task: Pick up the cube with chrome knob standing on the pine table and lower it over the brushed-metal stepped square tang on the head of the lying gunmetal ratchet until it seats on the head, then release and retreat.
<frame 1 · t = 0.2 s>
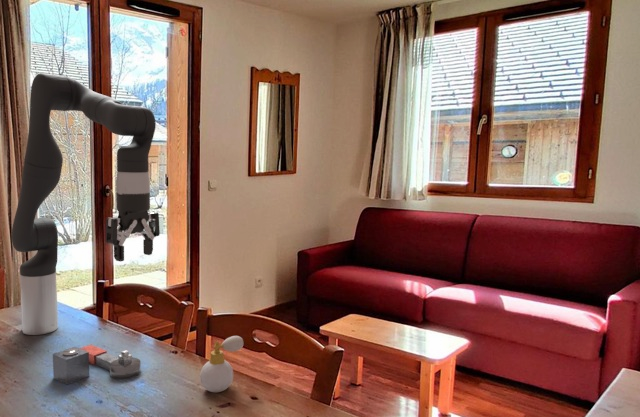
hand: (134, 257, 123), 28 cm above the table, fingers open, 8 cm apart
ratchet: (125, 372, 124), on the table
perfume bottle: (220, 388, 118), on the table
cube with chrome knob: (71, 377, 121), on the table
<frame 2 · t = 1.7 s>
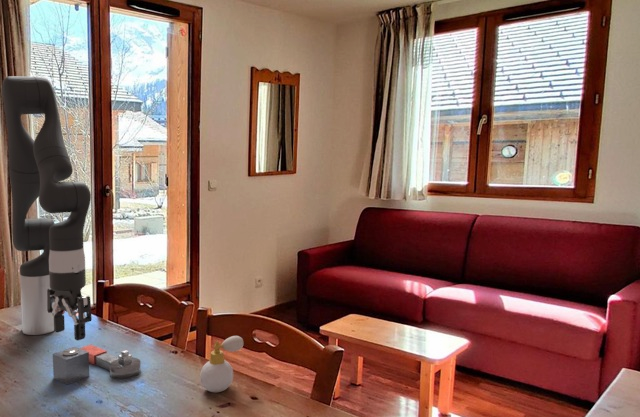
hand: (69, 335, 120), 10 cm above the table, fingers open, 8 cm apart
nothing on the table moved.
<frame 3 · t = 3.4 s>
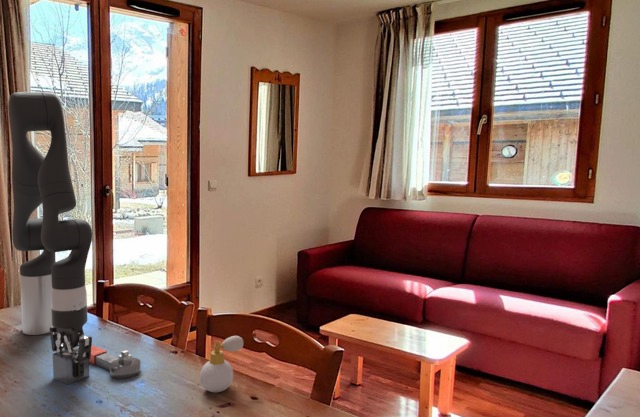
hand: (71, 373, 121), 1 cm above the table, fingers closed on cube with chrome knob, 5 cm apart
cube with chrome knob: (71, 377, 121), on the table, touching gripper
everything else where it was.
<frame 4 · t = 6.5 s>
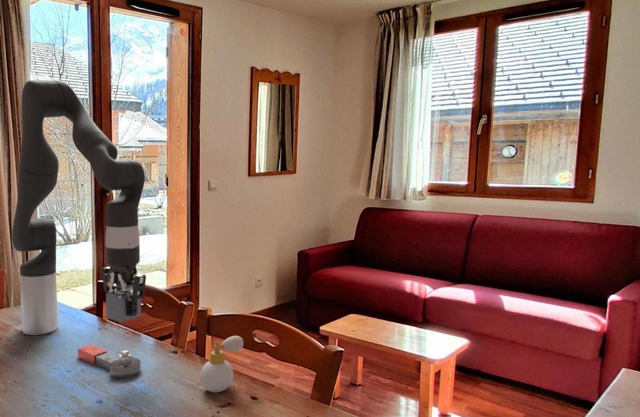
hand: (124, 312, 123), 15 cm above the table, fingers closed on cube with chrome knob, 5 cm apart
cube with chrome knob: (123, 316, 123), point 14 cm above the table, touching gripper
everything else where it was.
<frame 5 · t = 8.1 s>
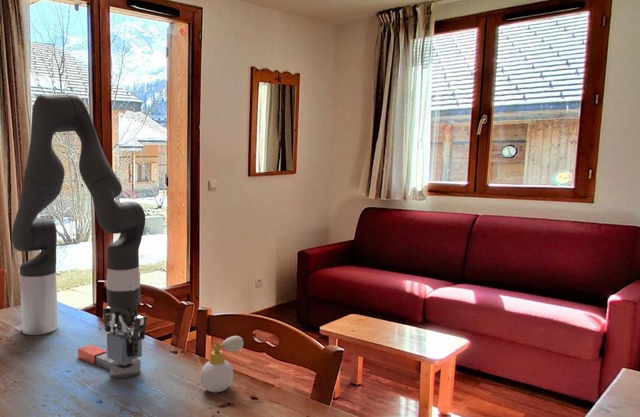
hand: (124, 352, 124), 5 cm above the table, fingers closed on cube with chrome knob, 5 cm apart
cube with chrome knob: (124, 356, 124), point 4 cm above the table, touching gripper
everything else where it was.
when the fingers open (4 cm above the table, at t = 9.6 s): cube with chrome knob stays where it is, resting on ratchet.
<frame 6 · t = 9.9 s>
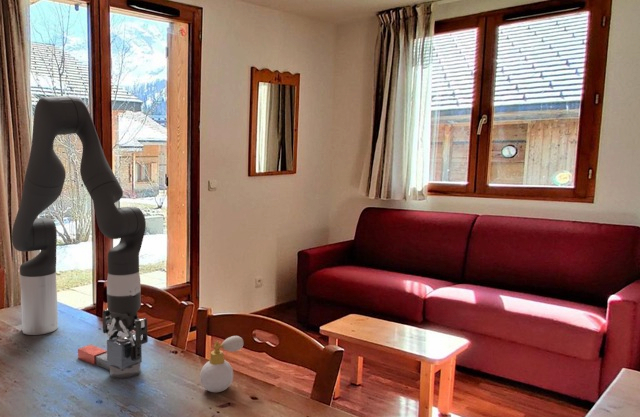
hand: (125, 355, 124), 4 cm above the table, fingers open, 8 cm apart
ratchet: (125, 372, 124), on the table, touching cube with chrome knob
cube with chrome knob: (124, 363, 124), point 2 cm above the table, touching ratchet
everything else where it was.
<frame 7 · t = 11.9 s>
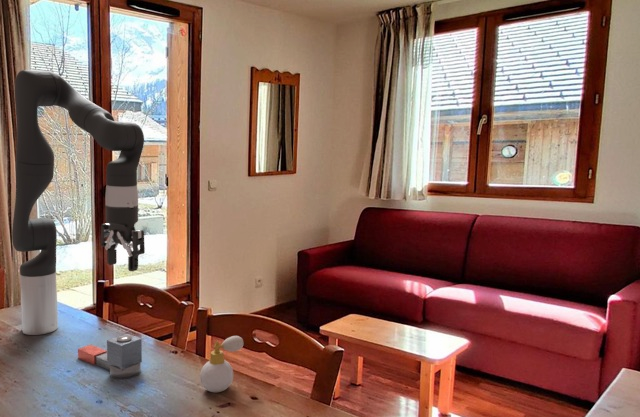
hand: (122, 267, 128), 25 cm above the table, fingers open, 8 cm apart
nothing on the table moved.
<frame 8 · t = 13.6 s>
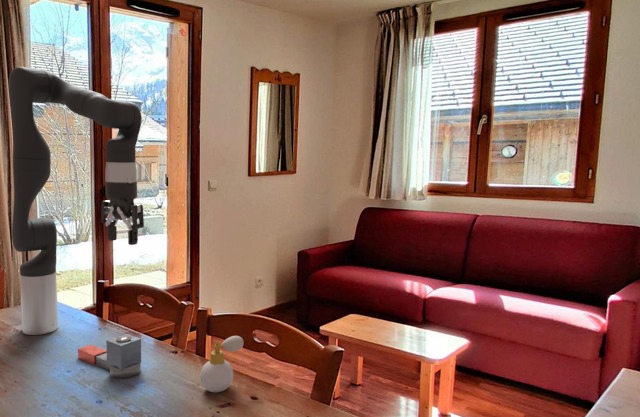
hand: (122, 242, 132), 30 cm above the table, fingers open, 8 cm apart
nothing on the table moved.
at the end: cube with chrome knob 0.3 cm off-centre on the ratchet, point 2.5 cm above the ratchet's base; cube with chrome knob tilted 0°; the gripper is holding nothing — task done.
